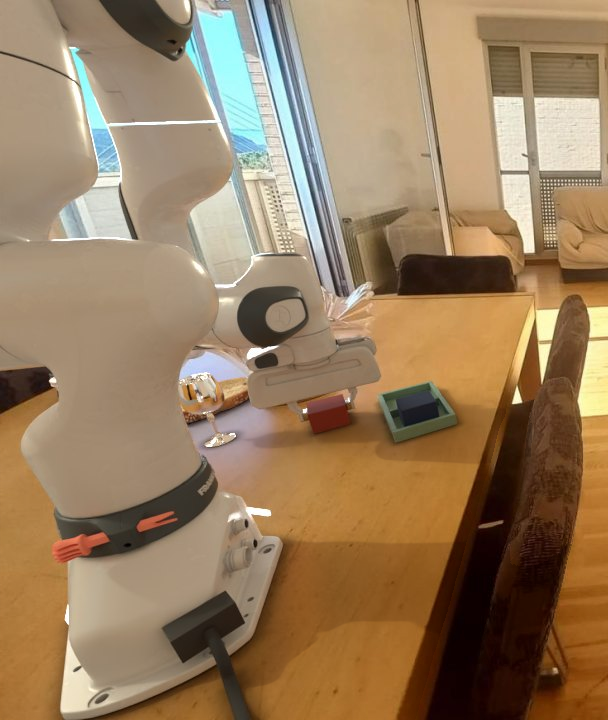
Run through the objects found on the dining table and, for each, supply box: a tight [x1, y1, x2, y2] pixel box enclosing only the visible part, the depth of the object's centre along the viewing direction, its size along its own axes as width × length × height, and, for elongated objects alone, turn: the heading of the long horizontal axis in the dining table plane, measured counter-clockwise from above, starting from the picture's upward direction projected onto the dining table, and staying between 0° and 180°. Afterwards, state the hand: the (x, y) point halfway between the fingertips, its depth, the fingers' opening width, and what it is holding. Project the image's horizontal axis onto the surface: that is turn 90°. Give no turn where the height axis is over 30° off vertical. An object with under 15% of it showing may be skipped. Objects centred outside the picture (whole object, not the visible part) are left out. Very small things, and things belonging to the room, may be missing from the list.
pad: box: [396, 390, 440, 427], centre depth 87 cm, size 6×6×4 cm
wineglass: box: [178, 372, 237, 448], centre depth 82 cm, size 6×6×12 cm
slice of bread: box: [180, 376, 250, 425], centre depth 95 cm, size 18×18×4 cm
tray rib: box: [390, 397, 440, 418], centre depth 90 cm, size 1×9×2 cm, turn 124°
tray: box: [376, 380, 458, 444], centre depth 90 cm, size 18×11×2 cm, turn 33°
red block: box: [305, 393, 352, 435], centre depth 88 cm, size 6×6×4 cm
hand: (328, 414), depth 88 cm, fingers closed on red block, 6 cm apart
